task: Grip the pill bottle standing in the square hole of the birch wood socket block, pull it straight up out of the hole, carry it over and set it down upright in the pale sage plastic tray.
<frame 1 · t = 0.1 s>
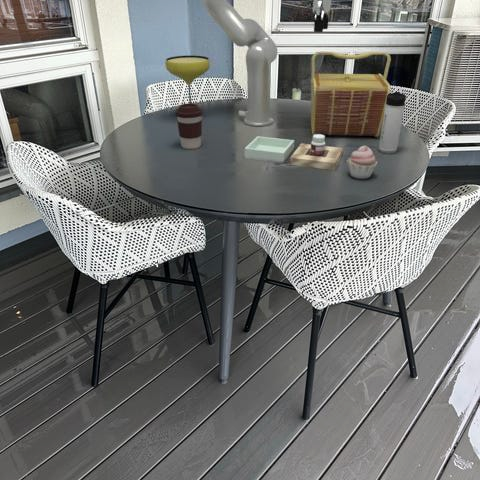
hand: (320, 30, 167), 37 cm above the table, tool pointing down, fingers open, 9 cm apart
travel mug: (387, 151, 162), on the table
pill bottle: (316, 160, 156), resting in socket block
picnic basket: (342, 131, 183), on the table
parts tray: (269, 153, 161), on the table
socket block: (316, 159, 155), on the table
coffee cup: (191, 146, 168), on the table
cocktail glass: (191, 120, 198), on the table
cupcake: (360, 176, 144), on the table
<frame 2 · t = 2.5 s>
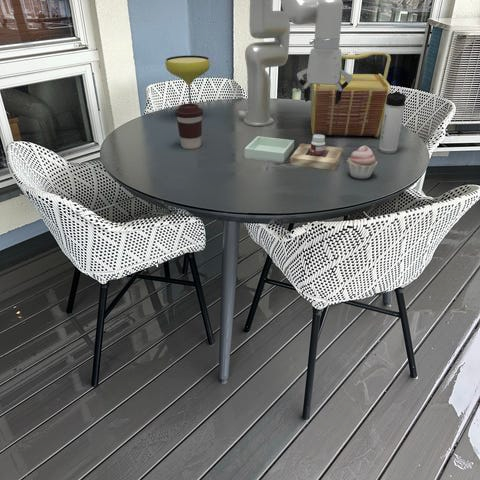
hand: (322, 101, 145), 20 cm above the table, tool pointing down, fingers open, 9 cm apart
nothing on the table moved.
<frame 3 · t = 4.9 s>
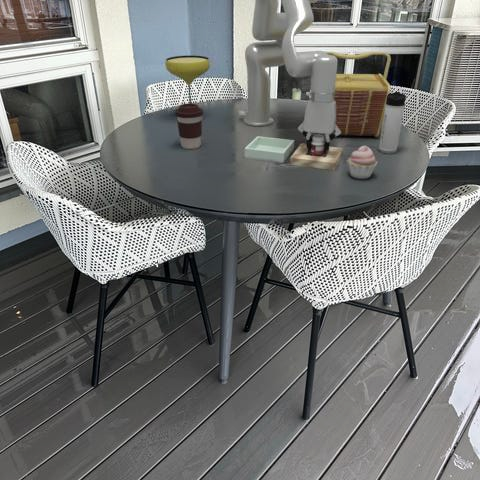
hand: (317, 150, 154), 3 cm above the table, tool pointing down, fingers closed on pill bottle, 4 cm apart
pill bottle: (316, 160, 156), resting in socket block, touching gripper
everything else where it was.
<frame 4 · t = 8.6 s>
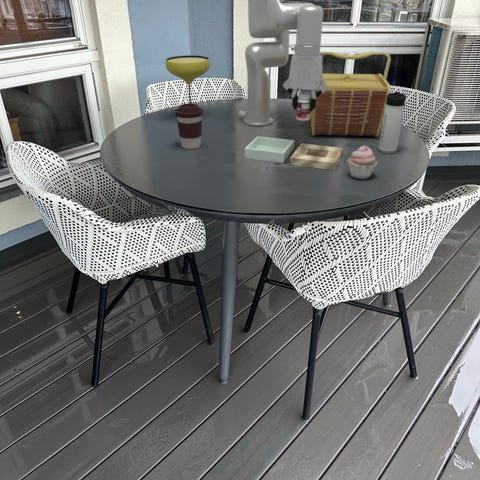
hand: (303, 109, 149), 17 cm above the table, tool pointing down, fingers closed on pill bottle, 4 cm apart
pill bottle: (302, 119, 151), point 13 cm above the table, touching gripper
everything else where it was.
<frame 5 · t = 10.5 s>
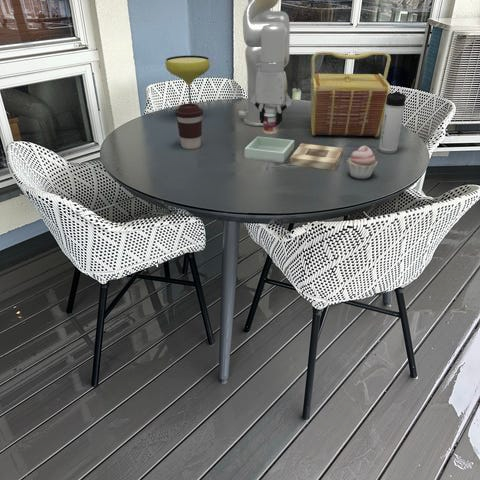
hand: (270, 122, 155), 11 cm above the table, tool pointing down, fingers closed on pill bottle, 4 cm apart
pill bottle: (270, 132, 156), point 8 cm above the table, touching gripper
everything else where it was.
when the fingers open (6 cm above the table, at t = 12.2 s): pill bottle drops 2 cm, resting on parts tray.
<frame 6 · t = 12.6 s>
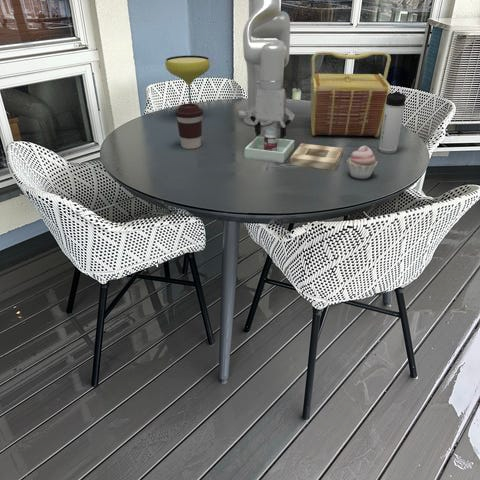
hand: (270, 136, 157), 6 cm above the table, tool pointing down, fingers open, 8 cm apart
pill bottle: (270, 152, 161), resting on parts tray
everything else where it was.
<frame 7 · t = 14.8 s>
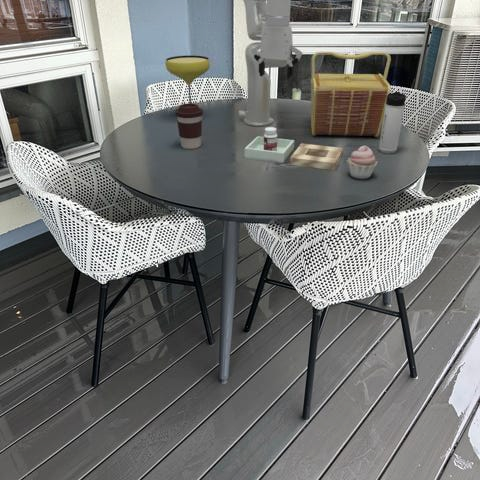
hand: (275, 76, 154), 25 cm above the table, tool pointing down, fingers open, 9 cm apart
nothing on the table moved.
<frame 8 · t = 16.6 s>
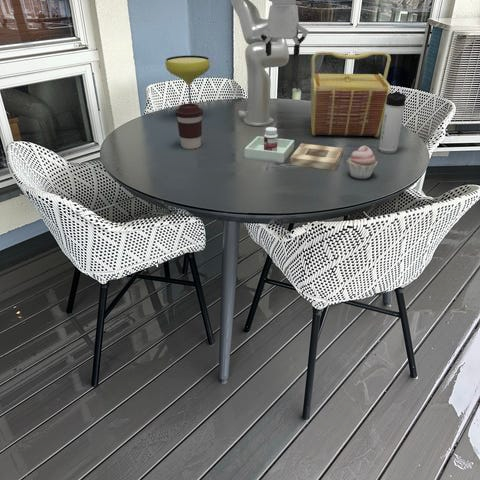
hand: (282, 56, 157), 30 cm above the table, tool pointing down, fingers open, 9 cm apart
nothing on the table moved.
at the end: pill bottle inside the target area on the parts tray (0.2 cm from its centre), point 0.4 cm above the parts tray's base; pill bottle tilted 1°; the gripper is holding nothing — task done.
